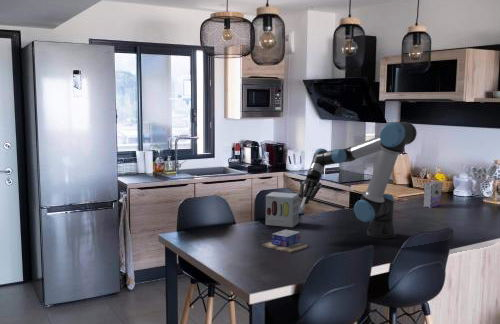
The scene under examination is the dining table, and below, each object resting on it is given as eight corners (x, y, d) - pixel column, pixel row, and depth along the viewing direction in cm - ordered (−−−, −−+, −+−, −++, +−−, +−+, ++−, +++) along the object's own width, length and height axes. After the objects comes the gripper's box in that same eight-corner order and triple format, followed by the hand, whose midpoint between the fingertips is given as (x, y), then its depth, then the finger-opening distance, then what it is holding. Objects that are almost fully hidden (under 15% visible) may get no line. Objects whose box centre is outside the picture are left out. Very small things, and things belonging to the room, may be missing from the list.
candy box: (433, 204, 363) (434, 181, 361) (441, 205, 358) (442, 182, 356) (422, 206, 354) (423, 183, 352) (430, 208, 350) (431, 184, 348)
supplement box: (265, 225, 304) (264, 195, 301) (272, 220, 316) (272, 191, 314) (293, 227, 298) (293, 197, 295) (299, 222, 310) (299, 193, 308)
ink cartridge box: (285, 239, 269) (268, 244, 258) (285, 229, 269) (268, 233, 258) (300, 242, 263) (283, 247, 252) (300, 231, 262) (284, 236, 251)
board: (307, 247, 257) (307, 245, 257) (290, 253, 247) (290, 251, 247) (280, 240, 270) (280, 238, 270) (262, 246, 260) (262, 244, 260)
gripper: (327, 178, 281) (315, 213, 269) (306, 176, 288) (293, 211, 276) (323, 169, 276) (311, 205, 264) (302, 168, 283) (288, 203, 271)
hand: (302, 208), depth 270 cm, fingers closed
